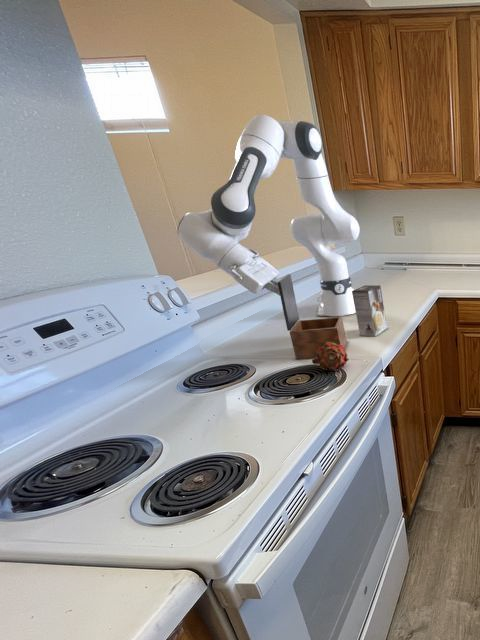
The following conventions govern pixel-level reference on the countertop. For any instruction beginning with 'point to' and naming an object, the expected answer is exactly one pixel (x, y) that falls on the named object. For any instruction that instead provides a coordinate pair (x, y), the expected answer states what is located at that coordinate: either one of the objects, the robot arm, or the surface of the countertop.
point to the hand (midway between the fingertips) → (283, 293)
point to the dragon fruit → (331, 357)
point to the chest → (316, 335)
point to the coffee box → (369, 310)
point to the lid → (288, 301)
